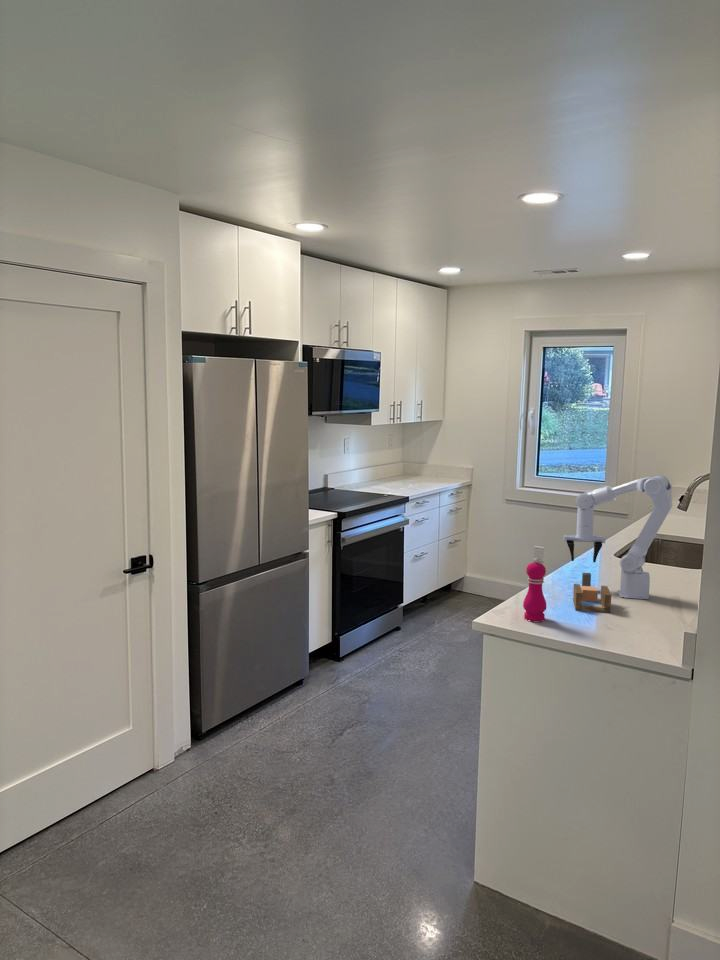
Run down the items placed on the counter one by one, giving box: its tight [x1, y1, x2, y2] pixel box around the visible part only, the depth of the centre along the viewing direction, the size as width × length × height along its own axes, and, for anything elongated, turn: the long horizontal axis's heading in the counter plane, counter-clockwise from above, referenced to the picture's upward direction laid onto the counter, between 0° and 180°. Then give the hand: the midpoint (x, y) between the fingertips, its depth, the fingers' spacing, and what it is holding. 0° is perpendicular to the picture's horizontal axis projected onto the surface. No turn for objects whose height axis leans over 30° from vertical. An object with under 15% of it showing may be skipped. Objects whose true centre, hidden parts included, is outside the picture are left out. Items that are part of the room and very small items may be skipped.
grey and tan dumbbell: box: [580, 572, 599, 603], centre depth 242 cm, size 5×16×6 cm, turn 167°
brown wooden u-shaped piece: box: [572, 583, 612, 614], centre depth 230 cm, size 11×11×6 cm
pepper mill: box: [522, 557, 547, 622], centre depth 216 cm, size 7×7×20 cm
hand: (583, 561), depth 252 cm, fingers open, 7 cm apart
